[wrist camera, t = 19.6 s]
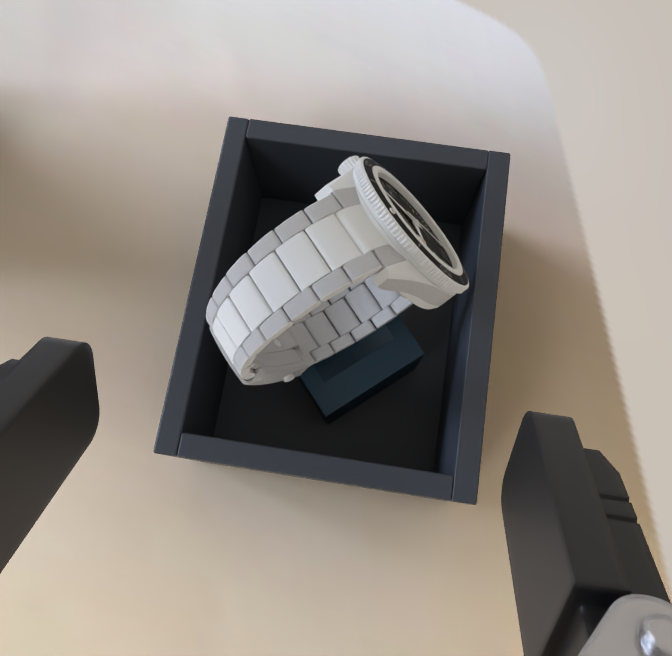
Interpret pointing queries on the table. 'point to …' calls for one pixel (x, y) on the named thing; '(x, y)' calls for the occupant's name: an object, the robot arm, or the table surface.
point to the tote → (424, 324)
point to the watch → (336, 291)
